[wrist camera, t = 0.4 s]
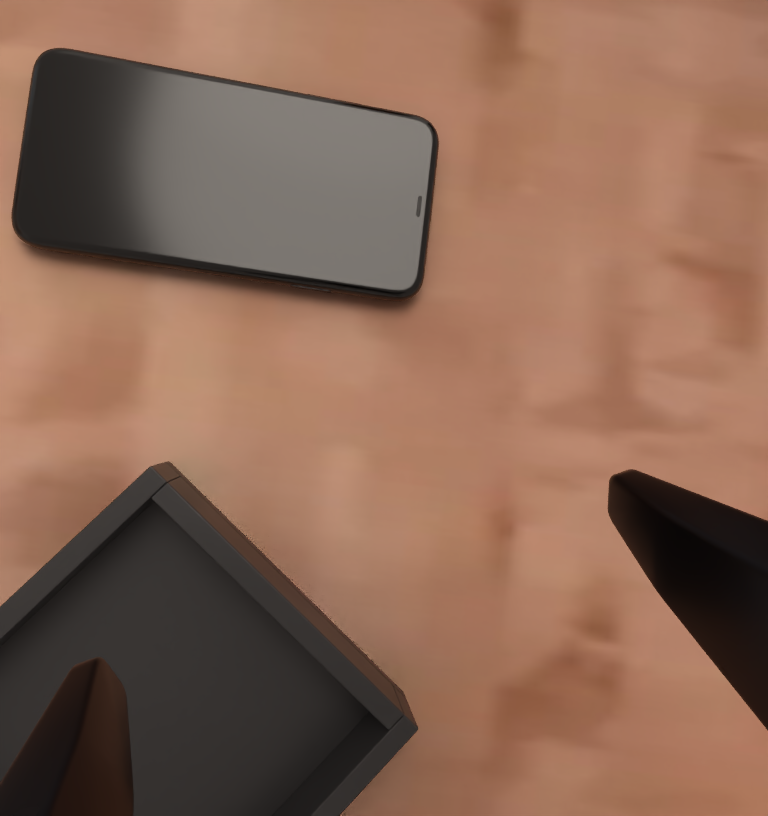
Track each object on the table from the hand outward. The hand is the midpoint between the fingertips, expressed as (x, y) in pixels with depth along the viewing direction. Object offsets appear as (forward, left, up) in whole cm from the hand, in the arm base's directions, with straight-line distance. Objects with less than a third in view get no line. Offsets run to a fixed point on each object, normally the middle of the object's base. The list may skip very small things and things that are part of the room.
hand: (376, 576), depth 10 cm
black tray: (-2, +11, -15) cm, 19 cm away
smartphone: (+11, -6, -15) cm, 20 cm away
